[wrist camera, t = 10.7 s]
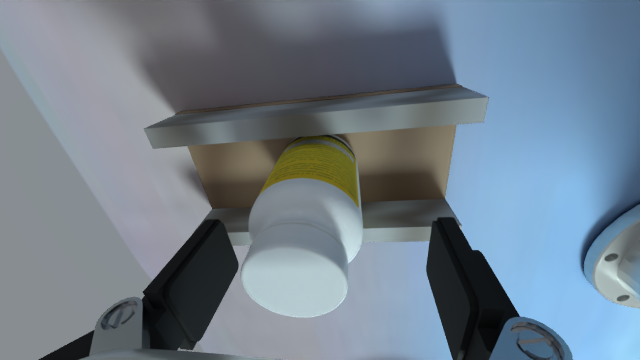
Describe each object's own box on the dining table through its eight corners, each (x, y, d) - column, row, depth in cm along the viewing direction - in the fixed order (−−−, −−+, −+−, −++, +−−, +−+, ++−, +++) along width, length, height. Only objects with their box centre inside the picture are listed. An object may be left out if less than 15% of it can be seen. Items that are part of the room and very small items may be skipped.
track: (456, 83, 15) (489, 95, 12) (439, 206, 19) (458, 240, 16) (181, 111, 17) (143, 127, 14) (221, 215, 21) (198, 246, 18)
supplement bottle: (271, 137, 17) (194, 237, 8) (351, 122, 16) (358, 218, 7) (292, 202, 19) (250, 331, 11) (362, 193, 18) (378, 326, 10)
